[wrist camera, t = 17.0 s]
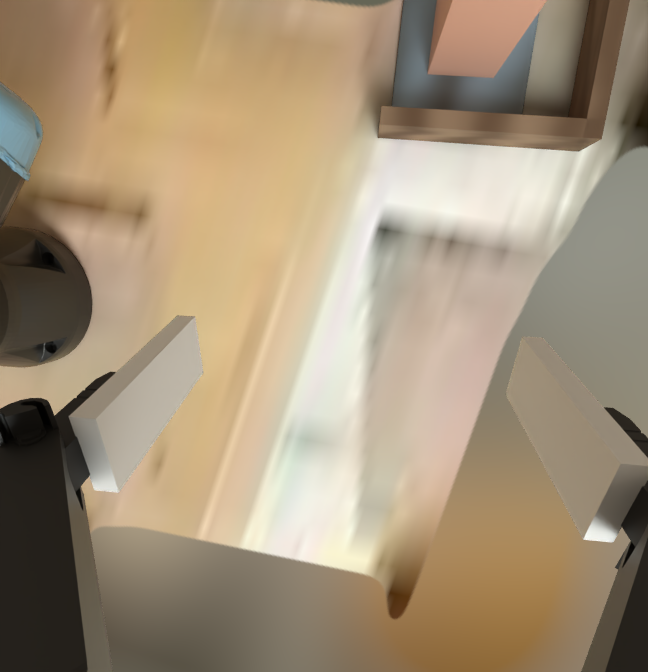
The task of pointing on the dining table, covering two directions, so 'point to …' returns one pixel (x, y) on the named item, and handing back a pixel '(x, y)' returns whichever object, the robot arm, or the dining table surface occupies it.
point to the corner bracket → (500, 89)
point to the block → (477, 35)
